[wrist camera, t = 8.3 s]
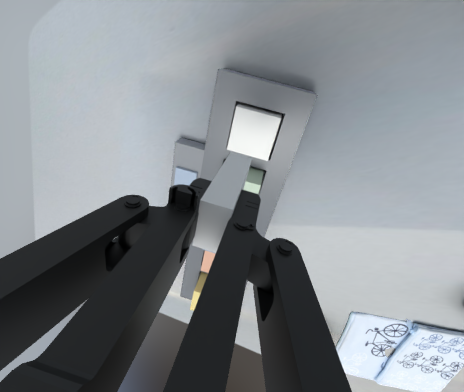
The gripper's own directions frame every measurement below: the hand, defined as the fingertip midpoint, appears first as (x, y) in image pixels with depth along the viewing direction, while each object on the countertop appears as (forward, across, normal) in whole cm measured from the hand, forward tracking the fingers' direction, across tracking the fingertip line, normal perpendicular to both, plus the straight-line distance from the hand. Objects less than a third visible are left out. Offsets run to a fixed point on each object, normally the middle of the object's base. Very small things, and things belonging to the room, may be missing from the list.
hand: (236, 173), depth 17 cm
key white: (+14, 0, 0) cm, 14 cm away
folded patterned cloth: (+15, +34, -32) cm, 49 cm away
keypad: (+14, -2, -13) cm, 19 cm away
